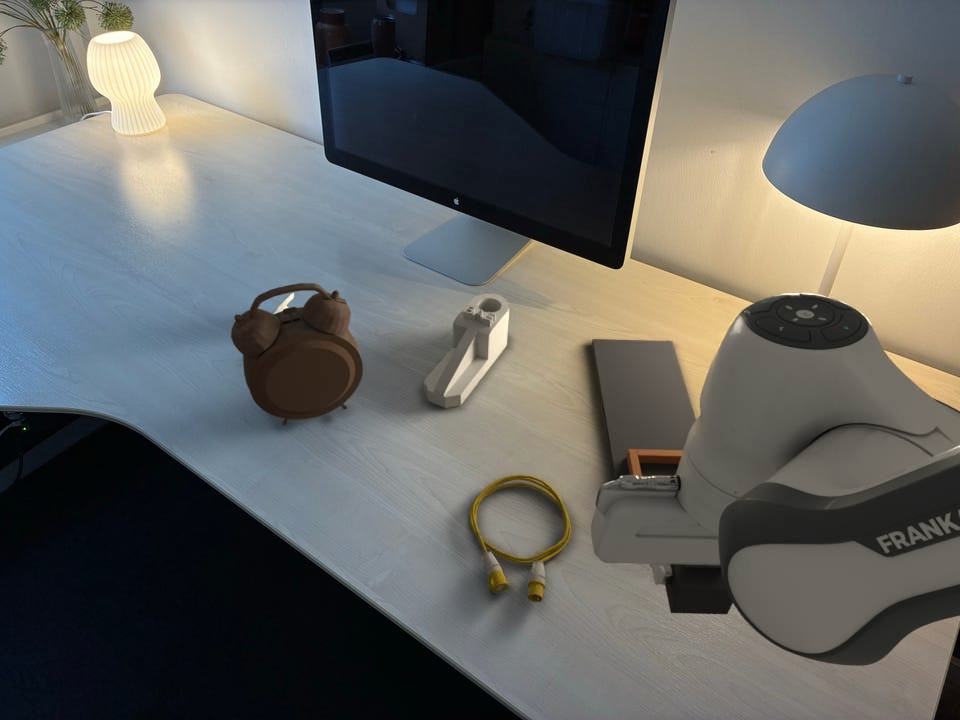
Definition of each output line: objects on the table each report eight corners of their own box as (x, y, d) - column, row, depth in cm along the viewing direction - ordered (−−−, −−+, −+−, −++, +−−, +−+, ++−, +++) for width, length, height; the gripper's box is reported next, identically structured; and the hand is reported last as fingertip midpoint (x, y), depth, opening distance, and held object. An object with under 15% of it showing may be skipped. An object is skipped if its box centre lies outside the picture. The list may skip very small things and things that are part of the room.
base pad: (724, 525, 79) (730, 513, 77) (620, 523, 79) (624, 510, 77) (671, 346, 103) (674, 333, 101) (591, 343, 103) (593, 331, 101)
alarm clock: (356, 376, 96) (340, 257, 83) (371, 411, 91) (355, 289, 78) (251, 403, 92) (216, 282, 79) (260, 441, 87) (224, 318, 74)
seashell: (285, 352, 105) (269, 344, 97) (260, 332, 106) (241, 322, 98) (318, 312, 106) (305, 301, 98) (293, 292, 107) (277, 279, 99)
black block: (713, 564, 64) (725, 537, 61) (727, 614, 60) (740, 588, 57) (660, 563, 64) (669, 536, 61) (670, 613, 60) (680, 586, 57)
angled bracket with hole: (419, 397, 93) (417, 353, 88) (480, 325, 105) (481, 283, 100) (455, 412, 91) (455, 368, 86) (513, 336, 103) (516, 294, 98)
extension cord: (433, 566, 74) (433, 556, 73) (499, 467, 85) (499, 456, 83) (535, 617, 70) (536, 607, 69) (590, 506, 80) (593, 496, 79)
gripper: (605, 511, 49) (584, 608, 58) (888, 517, 49) (823, 614, 58) (596, 445, 54) (577, 545, 63) (853, 451, 54) (798, 550, 63)
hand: (697, 578), depth 61 cm, fingers closed on black block, 5 cm apart
